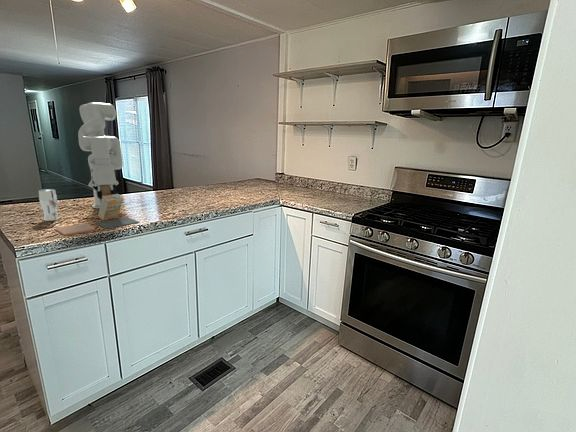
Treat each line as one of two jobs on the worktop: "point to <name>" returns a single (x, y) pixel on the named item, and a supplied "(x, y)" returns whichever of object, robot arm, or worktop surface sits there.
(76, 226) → the pad
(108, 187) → the walnut block
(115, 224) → the mat
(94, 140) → the robot arm
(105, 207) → the supplement box
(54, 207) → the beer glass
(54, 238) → the worktop surface
